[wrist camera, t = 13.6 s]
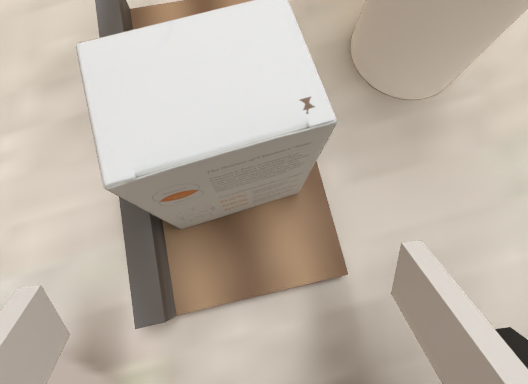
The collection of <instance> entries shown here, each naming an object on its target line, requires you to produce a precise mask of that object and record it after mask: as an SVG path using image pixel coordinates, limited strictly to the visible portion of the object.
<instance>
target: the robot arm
mask: <svg viewBox="0 0 528 384" xmlns="http://www.w3.org/2000/svg"><path fill="white" fill-rule="evenodd" d="M391 294H392V296H393V298H394V299H395V301H396V303H397V305H398V306H399V308H400V310H401V312H402V314H403V315H404V317H405V319H406V321H407V322H408V324H409V326H410V328H411V329H412V331H413V333H414V335H415V336H416V338H417V340H418V342H419V343H420V345H421V347H422V349H423V350H424V352H425V354H426V356H427V357H428V359H429V361H430V363H431V365H432V366H433V368H434V370H435V372H436V373H437V375H438V377H439V379H440V380H441V382H442V384H528V340H527V339H526V338H524V337H523V336H522V335H520V334H519V333H517V332H516V331H515V330H513V329H512V328H510V327H508V328H501V329H494V328H493V327H492V325H491V324H490V323H489V322H488V321H487V319H486V318H485V317H484V316H483V314H482V313H481V312H480V311H479V310H478V308H477V307H476V306H475V305H474V304H473V302H472V301H471V300H470V299H469V298H468V296H467V295H466V294H465V293H464V291H463V290H462V289H461V288H460V287H459V285H458V284H457V283H456V282H455V281H454V279H453V278H452V277H451V276H450V275H449V273H448V272H447V271H446V270H445V268H444V267H443V266H442V265H441V264H440V262H439V261H438V260H437V259H436V258H435V256H434V255H433V254H432V253H431V252H430V250H429V249H428V248H427V247H426V245H425V244H424V243H423V242H422V241H421V240H419V241H410V242H402V243H401V247H400V252H399V257H398V262H397V267H396V272H395V277H394V282H393V287H392V292H391ZM69 335H70V333H69V331H68V330H67V328H66V326H65V325H64V323H63V321H62V320H61V318H60V316H59V315H58V313H57V311H56V309H55V308H54V306H53V304H52V303H51V301H50V299H49V298H48V296H47V294H46V293H45V291H44V289H43V288H42V286H41V285H36V286H27V287H19V288H18V289H17V290H16V292H15V293H14V294H13V296H12V297H11V298H10V300H9V301H8V302H7V304H6V305H5V307H4V308H3V309H2V311H1V312H0V384H47V381H48V379H49V377H50V375H51V373H52V371H53V369H54V367H55V365H56V363H57V361H58V358H59V356H60V354H61V352H62V350H63V348H64V346H65V344H66V342H67V340H68V338H69Z"/></svg>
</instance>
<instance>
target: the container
mask: <svg viewBox="0 0 528 384" xmlns="http://www.w3.org/2000/svg"><path fill="white" fill-rule="evenodd" d="M527 9H528V0H366V2H365V5H364V7H363V9H362V12H361V14H360V17H359V19H358V22H357V24H356V26H355V29H354V32H353V34H352V37H351V44H350V47H351V56H352V59H353V62H354V65H355V67H356V69H357V70H358V72H359V73H360V75H361V76H362V77H363V78H364V79H365V80H366V81H367V82H368V83H369V84H370V85H371V86H373V87H374V88H375V89H377V90H379V91H381V92H383V93H384V94H387V95H390V96H392V97H395V98H401V99H423V98H428V97H431V96H433V95H435V94H437V93H439V92H441V91H442V90H444V89H445V88H446V87H447V86H448V85H449V84H450V83H451V82H452V81H453V80H454V79H455V78H456V77H457V76H458V75H460V74H461V73H462V72H463V71H464V70H465V69H466V68H467V67H468V66H469V65H470V64H471V63H472V62H473V61H474V60H475V59H476V58H477V57H478V56H479V55H480V54H481V53H482V52H483V51H484V50H485V49H486V48H487V47H489V46H490V45H491V44H492V43H493V42H494V41H495V40H496V39H497V38H498V37H499V36H500V35H501V34H502V33H503V32H504V31H505V30H506V29H507V28H508V27H509V26H510V25H511V24H512V23H513V22H514V21H515V20H517V19H518V18H519V17H520V16H521V15H522V14H523V13H524V12H525V11H526V10H527Z"/></svg>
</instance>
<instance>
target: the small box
mask: <svg viewBox="0 0 528 384" xmlns="http://www.w3.org/2000/svg"><path fill="white" fill-rule="evenodd" d="M76 50H77V55H78V60H79V65H80V70H81V76H82V81H83V86H84V91H85V96H86V101H87V106H88V111H89V116H90V122H91V127H92V132H93V137H94V142H95V147H96V152H97V157H98V162H99V166H100V171H101V176H102V182H103V186H104V188H105V189H106V190H108V191H110V192H112V193H114V194H116V195H118V196H119V197H121V198H123V199H125V200H127V201H128V202H130V203H132V204H134V205H136V206H138V207H139V208H141V209H143V210H145V211H147V212H149V213H151V214H152V215H154V216H156V217H158V218H160V219H162V220H164V221H166V222H168V223H170V224H171V225H173V226H175V227H177V228H179V229H181V230H182V229H185V228H188V227H191V226H194V225H198V224H201V223H204V222H207V221H210V220H214V219H217V218H220V217H223V216H226V215H230V214H233V213H236V212H239V211H242V210H246V209H249V208H252V207H255V206H259V205H262V204H265V203H268V202H271V201H274V200H278V199H281V198H284V197H287V196H291V195H294V194H297V193H299V191H300V190H301V188H302V186H303V184H304V182H305V181H306V179H307V177H308V175H309V173H310V171H311V169H312V168H313V166H314V164H315V162H316V160H317V159H318V156H319V155H320V153H321V151H322V149H323V147H324V146H325V144H326V142H327V140H328V138H329V136H330V135H331V133H332V131H333V129H334V127H335V125H336V124H337V119H336V116H335V114H334V111H333V109H332V106H331V104H330V102H329V99H328V97H327V94H326V91H325V89H324V87H323V84H322V82H321V79H320V77H319V74H318V72H317V69H316V67H315V65H314V62H313V60H312V57H311V55H310V52H309V50H308V48H307V45H306V43H305V40H304V38H303V35H302V33H301V30H300V28H299V25H298V23H297V20H296V18H295V16H294V13H293V11H292V8H291V6H290V4H289V2H288V0H251V1H247V2H243V3H239V4H235V5H231V6H227V7H223V8H220V9H215V10H211V11H207V12H203V13H199V14H195V15H191V16H187V17H183V18H179V19H174V20H171V21H167V22H163V23H158V24H154V25H150V26H146V27H142V28H138V29H134V30H130V31H126V32H122V33H118V34H114V35H110V36H106V37H101V38H97V39H93V40H89V41H84V42H79V43H77V45H76Z"/></svg>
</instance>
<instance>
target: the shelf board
mask: <svg viewBox="0 0 528 384" xmlns="http://www.w3.org/2000/svg"><path fill="white" fill-rule="evenodd" d="M247 1H251V0H184V1H177V2H171V3H165V4H158V5H152V6H146V7H139V8H133V9H130V8H129V6H128V4H127V2H126V0H95V3H96V11H97V19H98V28H99V36H100V38H101V37H106V36H110V35H114V34H118V33H122V32H126V31H130V30H134V29H138V28H142V27H146V26H150V25H154V24H158V23H163V22H167V21H171V20H174V19H179V18H183V17H187V16H191V15H195V14H199V13H203V12H207V11H211V10H215V9H220V8H223V7H227V6H231V5H235V4H239V3H243V2H247ZM119 200H120V208H121V216H122V224H123V233H124V241H125V249H126V257H127V265H128V274H129V282H130V290H131V298H132V306H133V315H134V323H135V329H138V328H142V327H146V326H150V325H155V324H159V323H163V322H166V321H168V320H170V319H171V318H173V317H175V316H177V315H181V314H185V313H190V312H194V311H198V310H202V309H206V308H210V307H214V306H219V305H223V304H227V303H231V302H235V301H239V300H244V299H248V298H252V297H256V296H260V295H264V294H268V293H273V292H277V291H281V290H285V289H289V288H293V287H297V286H302V285H306V284H310V283H314V282H318V281H322V280H327V279H331V278H335V277H339V276H343V275H347V274H348V272H347V268H346V265H345V261H344V258H343V254H342V251H341V247H340V244H339V240H338V236H337V233H336V229H335V226H334V222H333V219H332V215H331V212H330V208H329V204H328V201H327V197H326V194H325V190H324V187H323V183H322V180H321V176H320V173H319V169H318V165H317V162H315V164H314V166H313V168H312V169H311V171H310V173H309V175H308V177H307V179H306V181H305V182H304V184H303V186H302V188H301V190H300V191H299V193H297V194H294V195H291V196H287V197H284V198H281V199H278V200H274V201H271V202H268V203H265V204H262V205H259V206H255V207H252V208H249V209H246V210H242V211H239V212H236V213H233V214H230V215H226V216H223V217H220V218H217V219H214V220H210V221H207V222H204V223H201V224H198V225H194V226H191V227H188V228H185V229H182V230H181V229H179V228H177V227H175V226H173V225H171V224H170V223H168V222H166V221H164V220H162V219H160V218H158V217H156V216H154V215H152V214H151V213H149V212H147V211H145V210H143V209H141V208H139V207H138V206H136V205H134V204H132V203H130V202H128V201H127V200H125V199H123V198H121V197H119Z"/></svg>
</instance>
